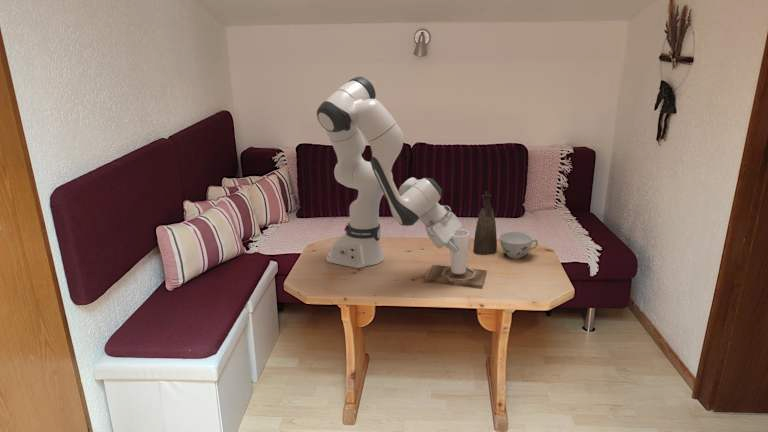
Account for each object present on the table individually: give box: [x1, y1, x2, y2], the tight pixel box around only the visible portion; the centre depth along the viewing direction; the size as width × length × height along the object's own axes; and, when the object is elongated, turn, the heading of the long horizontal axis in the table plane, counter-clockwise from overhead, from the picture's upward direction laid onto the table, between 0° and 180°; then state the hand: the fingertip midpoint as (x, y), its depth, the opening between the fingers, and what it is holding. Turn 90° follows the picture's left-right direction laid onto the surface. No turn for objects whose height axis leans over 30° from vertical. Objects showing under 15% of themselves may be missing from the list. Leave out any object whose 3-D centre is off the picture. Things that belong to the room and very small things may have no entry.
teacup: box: [499, 231, 539, 260], centre depth 212 cm, size 15×12×8 cm
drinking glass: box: [449, 228, 470, 274], centre depth 191 cm, size 7×7×15 cm
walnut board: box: [424, 264, 487, 289], centre depth 195 cm, size 20×13×2 cm, turn 73°
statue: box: [473, 190, 498, 255], centre depth 213 cm, size 9×8×25 cm
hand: (460, 247), depth 190 cm, fingers closed on drinking glass, 7 cm apart
